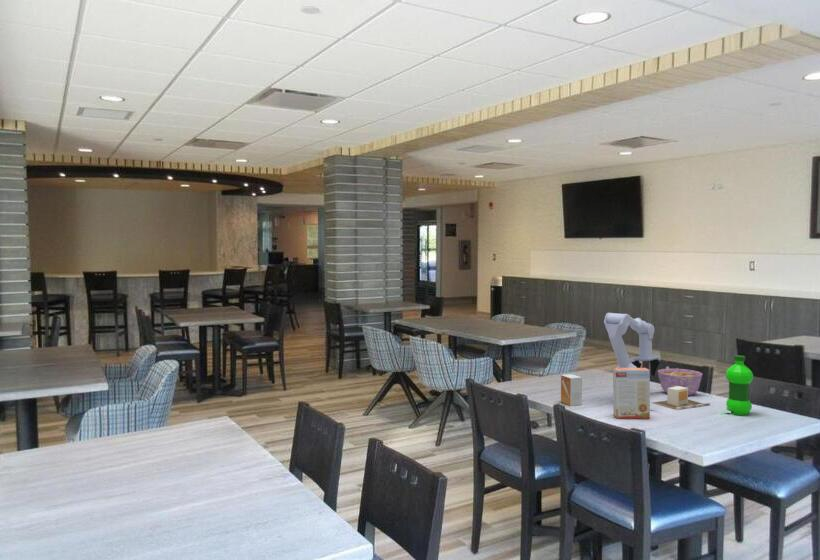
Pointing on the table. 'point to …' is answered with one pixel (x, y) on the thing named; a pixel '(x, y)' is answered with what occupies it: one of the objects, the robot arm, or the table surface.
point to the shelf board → (684, 406)
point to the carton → (677, 395)
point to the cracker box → (631, 393)
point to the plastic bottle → (739, 387)
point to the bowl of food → (680, 379)
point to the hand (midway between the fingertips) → (645, 375)
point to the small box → (571, 389)
